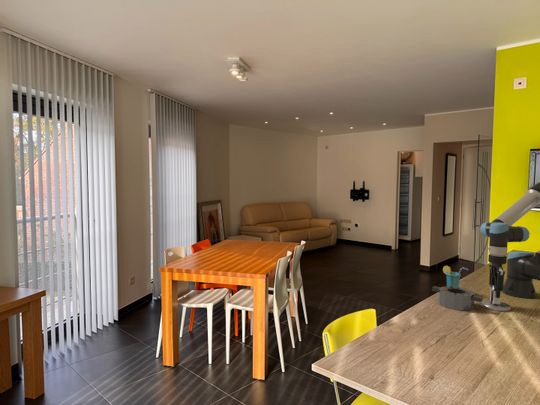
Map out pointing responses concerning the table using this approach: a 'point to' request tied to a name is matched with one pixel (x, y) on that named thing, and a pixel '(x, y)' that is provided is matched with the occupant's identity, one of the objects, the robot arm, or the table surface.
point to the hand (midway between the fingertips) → (494, 302)
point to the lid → (495, 307)
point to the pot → (456, 297)
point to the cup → (452, 276)
